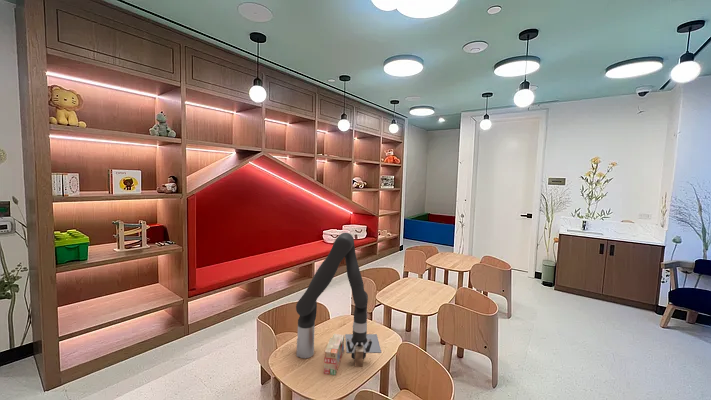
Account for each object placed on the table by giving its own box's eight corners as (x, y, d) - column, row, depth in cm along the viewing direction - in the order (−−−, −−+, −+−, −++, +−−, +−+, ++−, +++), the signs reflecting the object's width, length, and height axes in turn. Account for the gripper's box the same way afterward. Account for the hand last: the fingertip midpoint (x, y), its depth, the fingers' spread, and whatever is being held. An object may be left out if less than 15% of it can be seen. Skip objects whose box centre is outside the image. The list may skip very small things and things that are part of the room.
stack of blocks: (333, 348, 168) (334, 328, 166) (344, 349, 167) (344, 329, 165) (323, 373, 147) (324, 351, 145) (335, 375, 146) (336, 352, 144)
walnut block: (355, 366, 153) (355, 349, 152) (354, 358, 160) (354, 341, 159) (362, 366, 153) (363, 349, 152) (361, 358, 160) (362, 341, 159)
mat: (346, 353, 164) (346, 352, 164) (345, 334, 182) (345, 334, 182) (381, 352, 165) (381, 352, 165) (376, 334, 183) (376, 334, 183)
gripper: (346, 332, 150) (345, 363, 152) (374, 332, 151) (372, 362, 153) (346, 324, 157) (344, 354, 159) (372, 324, 159) (370, 353, 160)
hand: (358, 358), depth 156 cm, fingers open, 5 cm apart
